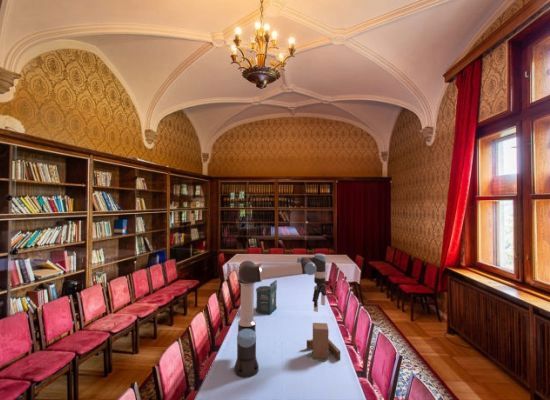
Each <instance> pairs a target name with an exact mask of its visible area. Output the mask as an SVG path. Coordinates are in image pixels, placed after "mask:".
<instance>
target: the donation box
mask: <svg viewBox="0 0 550 400" xmlns="http://www.w3.org/2000/svg"><path fill="white" fill-rule="evenodd" d="M277 282H278V281H277V279H276V280H274V281H272V282H271V283H270V284H269V285H261V286H258V287H256V289H255V293H256V301H255V302H256V304H255V305H256V308H255V311H256V312H257V313H258V314H261V315H267V316H270V315H272V314H273V313H274V312H275V311H276V310H277V309H278V307H277V286H278V285H277V284H278V283H277Z"/></svg>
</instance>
